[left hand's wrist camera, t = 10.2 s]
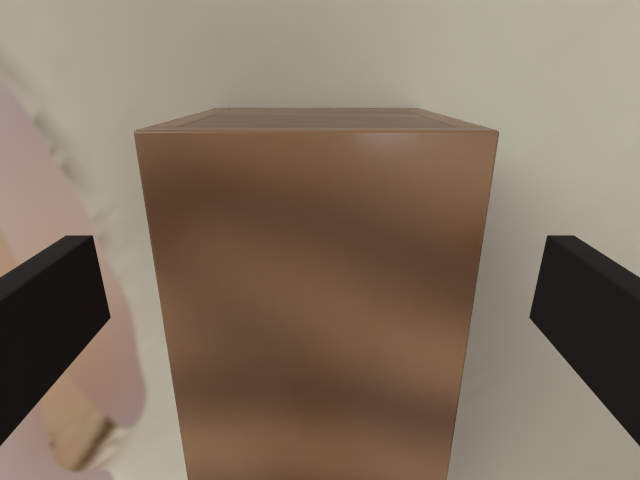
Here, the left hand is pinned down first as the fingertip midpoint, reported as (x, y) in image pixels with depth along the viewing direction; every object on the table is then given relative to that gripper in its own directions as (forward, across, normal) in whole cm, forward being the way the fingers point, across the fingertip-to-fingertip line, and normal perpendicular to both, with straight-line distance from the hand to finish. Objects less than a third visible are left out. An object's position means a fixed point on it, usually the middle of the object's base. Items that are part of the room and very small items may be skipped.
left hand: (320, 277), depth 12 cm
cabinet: (+14, 0, -7) cm, 15 cm away
